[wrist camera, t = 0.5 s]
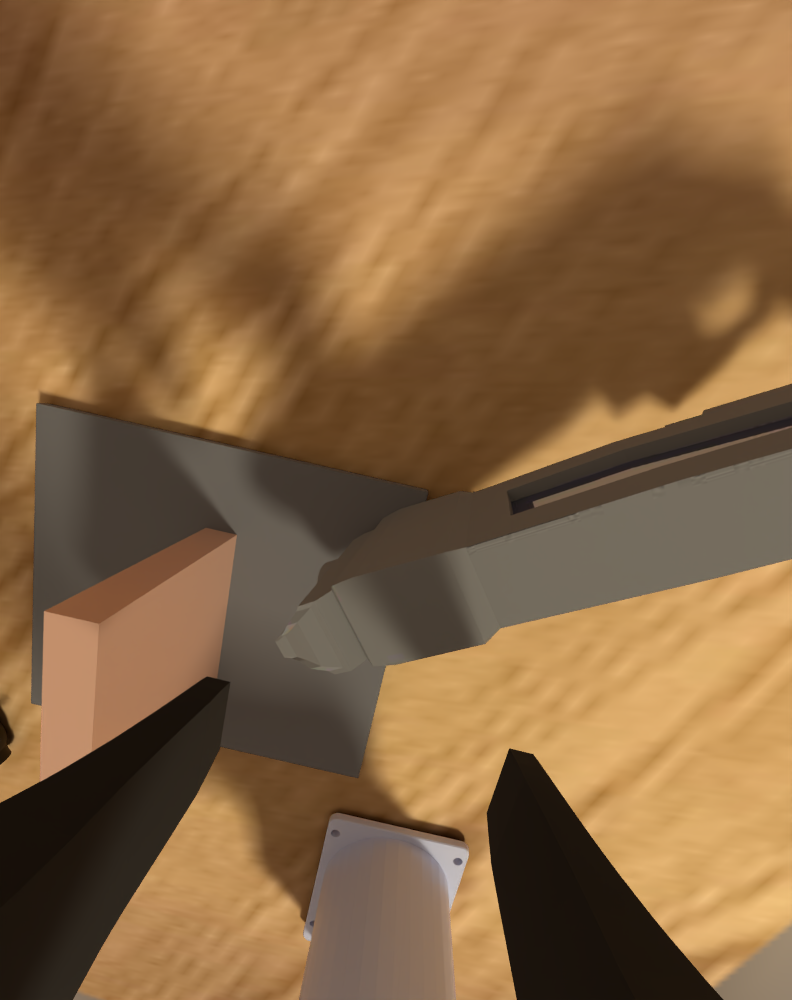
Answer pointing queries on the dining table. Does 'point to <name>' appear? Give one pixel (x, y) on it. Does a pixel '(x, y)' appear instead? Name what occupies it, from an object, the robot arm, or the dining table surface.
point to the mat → (255, 573)
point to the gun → (559, 540)
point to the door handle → (3, 745)
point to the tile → (132, 645)
